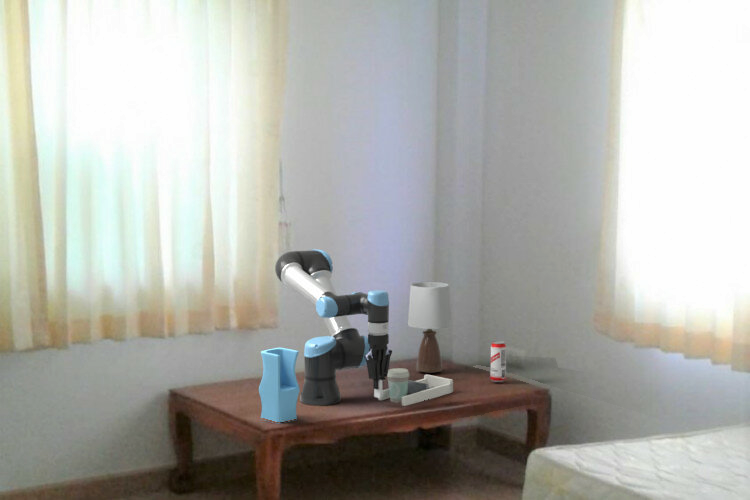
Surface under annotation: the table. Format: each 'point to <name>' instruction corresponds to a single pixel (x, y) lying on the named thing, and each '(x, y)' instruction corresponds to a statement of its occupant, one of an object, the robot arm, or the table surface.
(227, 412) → the table surface
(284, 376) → the vase
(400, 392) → the coffee cup
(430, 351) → the lamp
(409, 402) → the lane
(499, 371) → the beer can
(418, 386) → the block
